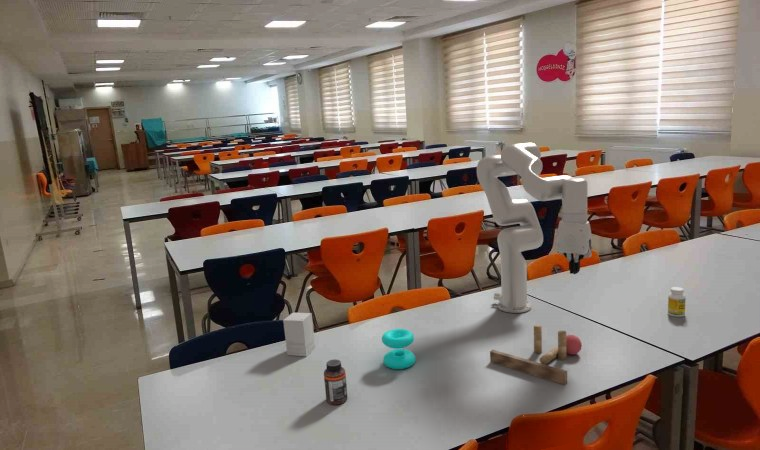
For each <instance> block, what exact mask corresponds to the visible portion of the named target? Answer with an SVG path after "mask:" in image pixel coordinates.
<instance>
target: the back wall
mask: <svg viewBox="0 0 760 450" xmlns="http://www.w3.org/2000/svg"><path fill="white" fill-rule="evenodd" d="M489 355H490V356H489V359H490V361H489V362H490V363H492V364H496V365H499V366H502V367H505V368H509V369H512V370H515V371H519V372H521V373H526V374H528V375H532V376H534V377H537V378H541V379H545V380H547V381H551V382H554V383H558V384H561V385H566V384H567V383H568V370H565V369H561V368H557V367H554V366H552V365H548V364H545V365H544V364H542V363H541V362H536V361H533V360H530V359H527V358H523V357H520V356H515V355H513V354H511V353H510V354H509V353H506V352H502V351H499V350H496V349H491V350H490V352H489Z"/></svg>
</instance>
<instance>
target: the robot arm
mask: <svg viewBox="0 0 760 450" xmlns="http://www.w3.org/2000/svg"><path fill="white" fill-rule="evenodd" d="M541 156H542V155H541V149H540V148H539V146H537V144H535V143H534V142H522V143H521V142H520V143H512V144H509V145H506V146H505V147H504V148H502V149H501V152H500V153H499V154H492V155H491V154H490V155H486V156H484V157H481V159H479V161H478V162H477V165H476V177H477V180H478V183H479V184H480V187H481V189H482V190H483V192H484V193H485V196H486V199H487V202H488V205H489V208H490V211H491V214H492V217H493V220H494V222H495V223H496V225H498V226H501V227H502V226H510V227H507V228H504V229H502V230H500V231H499V233H498V234H497V246H498V250H499V257H500V259H499V260H500V275H501V277H500V278H501V280H500V282H501V293H498V292H494V294H493V300H497V301H498V303H497V309H498V310H500V311H502V312H504V313H510V314H511V313H512V314H521V313H526V312H529V311H530V310H531V309H532V304H531V302H530V301H528V278H527V277H528V276H527V275H528V273H527V272H528V271H527V261H526V259H525V257H524V256H523V254H522V252H525V251H530V250H535V249H538V248H539V247H542V245H543V242H544V233H543V230H542V227H541V225H540V222H539V219H538V216H537V213H536V210H535V208H534V206H533V204H532V203H531V201H529V200H528V199H526V198H514V199H513V198H512V196H511V194H510V191H509V189H508V188H507V187H508V186H506V185H505V184H504V183H503V182H502V181H501V180H500V179H499V178H498V177H500V178H501V177H508V176H516V175H518V176H520V177H521V178H520V179H521V185H522V188H523V190H524V191H525V192H526V193H527V194H528V195H530V196H532V198H534V199H535V200H538V201H540V202H547V201H555V200H561V204H562V205H561V208H562V209H561V210H562V211H561V212H558V217H560V218H561V220H560V221H559V222H558V225H557V226H558V227H557V234H556V250H557V253H558V254H559V255H563V256H564V257H565V258H566V260H567V262H568V271H569V274H571V275H576V274H578V273H580V270H581V261H582V260H584V259H586V258H591V257H592V256H593V255H592V250H593V239H592V229H591V224H590V221H589V220H588V187H589V186H588V181H587V180H586V179H585V178H581V177H573V176H571V175H565V174H564V175H555V176H547V177H540V175H541V172H542V171H543V161H542V160H541ZM517 224H519V225H517ZM512 225H515V226H512Z"/></svg>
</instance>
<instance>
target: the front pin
mask: <svg viewBox="0 0 760 450" xmlns="http://www.w3.org/2000/svg"><path fill="white" fill-rule="evenodd" d="M556 358H558V346H557V347H554V348H552V349H551V350H550V351H548V352H547V353H545V354H544V355H542V356H541V357H540V358H539V363H541V364H544V365H548V363H550V362H552V361H553V360H554V359H556Z"/></svg>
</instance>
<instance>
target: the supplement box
mask: <svg viewBox="0 0 760 450" xmlns="http://www.w3.org/2000/svg"><path fill="white" fill-rule="evenodd" d="M312 314H313V313H312V312H291V313H290V314H289V315H288V316H287V317H286V318H284V319H282V323H283V330H284V336H285V337H284V338H285V348H286V353H287V354H286V355H287V356H295V357H296V356H297V357H308V356H309V354H311V353H312V352H313V351H314V350H315V348H316V344H315V343H316V342H315V334H314V332H315V331H314V323H313V315H312Z"/></svg>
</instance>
